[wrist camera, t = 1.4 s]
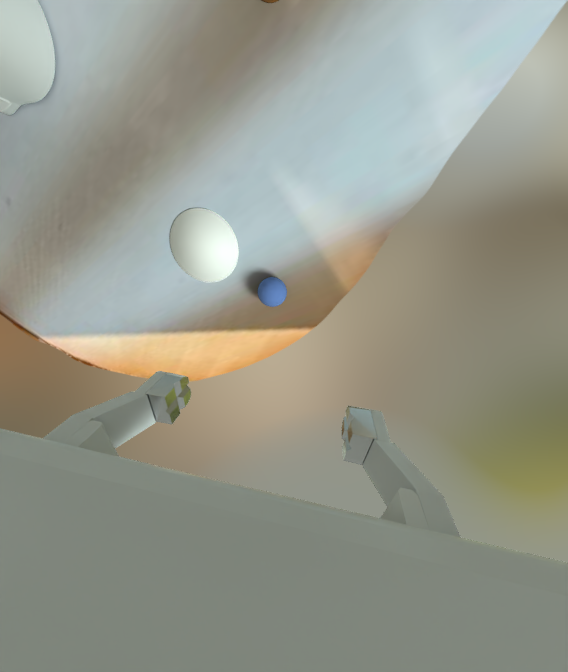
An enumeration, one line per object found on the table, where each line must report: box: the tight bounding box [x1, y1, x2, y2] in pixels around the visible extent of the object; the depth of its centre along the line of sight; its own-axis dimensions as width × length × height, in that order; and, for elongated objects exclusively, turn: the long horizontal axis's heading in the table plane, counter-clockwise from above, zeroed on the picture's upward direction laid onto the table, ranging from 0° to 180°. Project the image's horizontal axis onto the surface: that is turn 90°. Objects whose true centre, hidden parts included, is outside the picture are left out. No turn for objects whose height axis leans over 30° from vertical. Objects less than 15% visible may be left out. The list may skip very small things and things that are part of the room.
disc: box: [170, 208, 239, 282], centre depth 41 cm, size 13×13×1 cm
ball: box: [258, 277, 287, 307], centre depth 41 cm, size 6×6×6 cm
